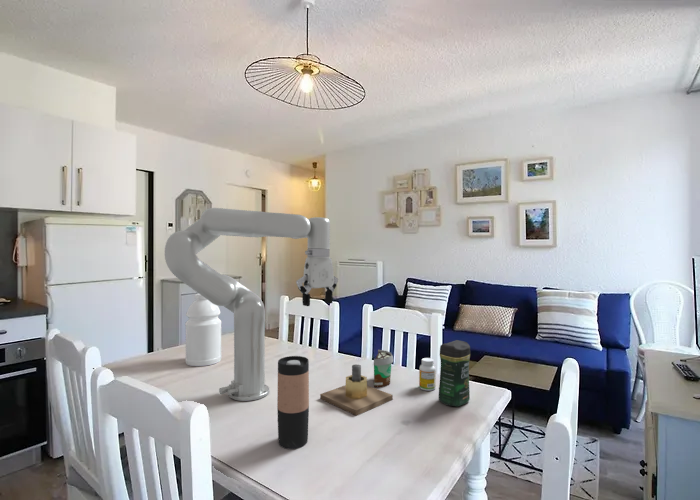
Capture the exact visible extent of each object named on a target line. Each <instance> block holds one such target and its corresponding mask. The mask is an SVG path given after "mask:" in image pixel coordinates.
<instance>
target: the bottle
mask: <svg viewBox="0 0 700 500" xmlns="http://www.w3.org/2000/svg"><path fill="white" fill-rule="evenodd" d="M194 299H195V300H194V301H193V302H192V303H191V304H190V305H189V307H188V308H187V311H186V314H185V316H186V317H187V318H188V320H187V321H186V322H185V324H184V325H185V364H186V365H187V366H191V367H206V366H211V365H214V364H217V363H219V362H220V361H221V360H222V356H223V355H222V320H221V319H220V318H219V316H220V315H221V310H220V306H217V305H215V304H213V303H211V302H210V301H209V300H207V299H206V298H205V297H203V296H202V295H200V294H199V293H197V292H196V293H195V294H194Z"/></svg>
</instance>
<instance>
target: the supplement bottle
mask: <svg viewBox="0 0 700 500" xmlns="http://www.w3.org/2000/svg"><path fill="white" fill-rule="evenodd" d="M434 360H435V359H433V358H431V357H424V358H422V359H421V364H420V365H419V370H418V371H419V373H418V374H419V377H418V379H419V380H418V382H419V383H418V384H419V389H421V390H423V391H428V392H429V391H430V392H431V391H434V390H435V389H436V386H437V385H436V378H437V377H436V374H437V373H436V372H437V369H436V365H435V366H434V363H435V361H434Z"/></svg>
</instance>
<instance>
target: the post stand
mask: <svg viewBox="0 0 700 500" xmlns="http://www.w3.org/2000/svg"><path fill="white" fill-rule="evenodd" d="M351 375H352V381H361V375H362V365H360V364H352V365H351ZM319 396H320V397H319V399H320V400H322V401H324V402H327V403H328V404H330V405H333V406H334V407H337V408H338V409H340V410H344V411H345V412H348V413H350V414H352V415H354V416H355V417H357V416H360V415H361V414H363V413H366V412H368V411H370V410H372V409H375V408H377V407H379V406H382V405H384V404H386V403H389V402H391V401H392V400H394V399H393V394H392V393H389V392H386V391H384V390H381V389H378V388H377V387H374V386H370V385H368V384H367V397H364V398H362V399H351V398H349V397H346V384H345V385H342V386H339V387H336V388H334V389H330V390H328V391H325V392H323V393H320V394H319Z"/></svg>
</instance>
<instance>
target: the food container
mask: <svg viewBox="0 0 700 500" xmlns="http://www.w3.org/2000/svg"><path fill="white" fill-rule="evenodd" d="M393 363H394V356H393V353H392V352H390V351H387V350H384V349H378V350H377V354H376V356H375V358H373V388H384V387H387V386H390V384H391V376H392V373H391V372H392V364H393Z"/></svg>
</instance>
